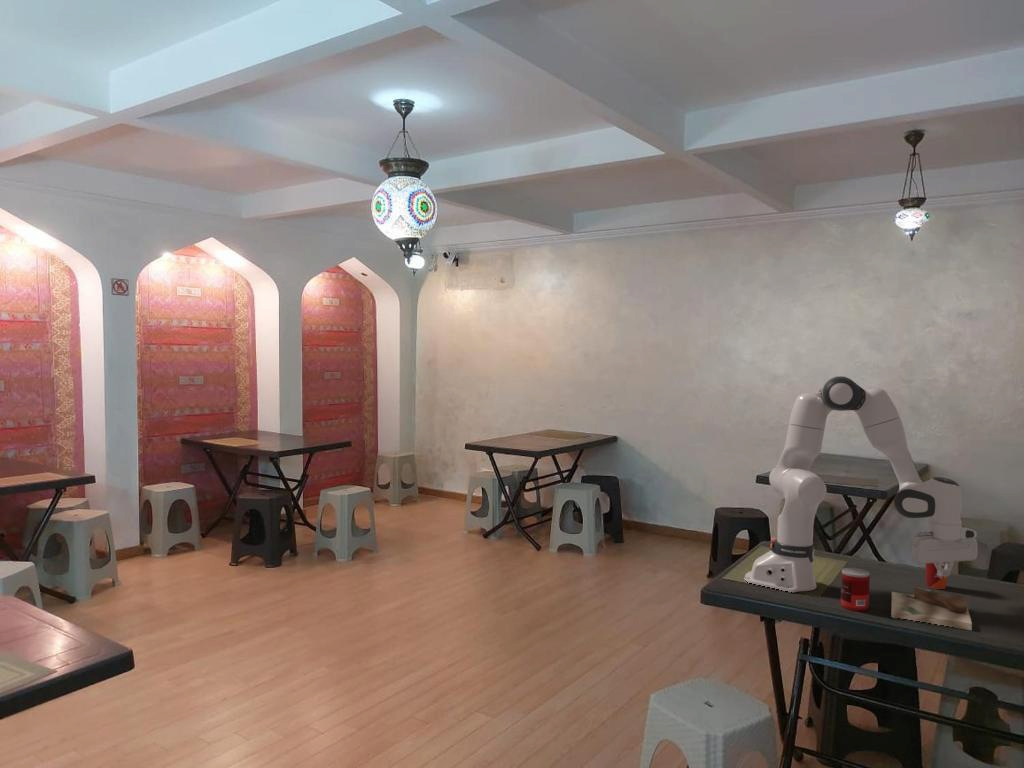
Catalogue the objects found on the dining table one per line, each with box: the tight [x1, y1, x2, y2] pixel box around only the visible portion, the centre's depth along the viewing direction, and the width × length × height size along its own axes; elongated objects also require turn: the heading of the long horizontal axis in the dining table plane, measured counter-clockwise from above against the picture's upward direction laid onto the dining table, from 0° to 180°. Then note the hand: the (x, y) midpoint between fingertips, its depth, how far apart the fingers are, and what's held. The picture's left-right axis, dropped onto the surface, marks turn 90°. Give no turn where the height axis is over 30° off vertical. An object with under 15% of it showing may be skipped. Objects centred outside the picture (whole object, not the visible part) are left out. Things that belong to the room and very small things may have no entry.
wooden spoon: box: [913, 586, 968, 612], centre depth 220 cm, size 14×5×4 cm, turn 32°
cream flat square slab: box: [890, 591, 973, 631], centre depth 219 cm, size 20×19×2 cm
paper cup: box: [925, 562, 948, 590], centre depth 243 cm, size 8×8×14 cm
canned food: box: [840, 567, 871, 612], centre depth 224 cm, size 8×8×11 cm
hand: (943, 575), depth 225 cm, fingers closed
